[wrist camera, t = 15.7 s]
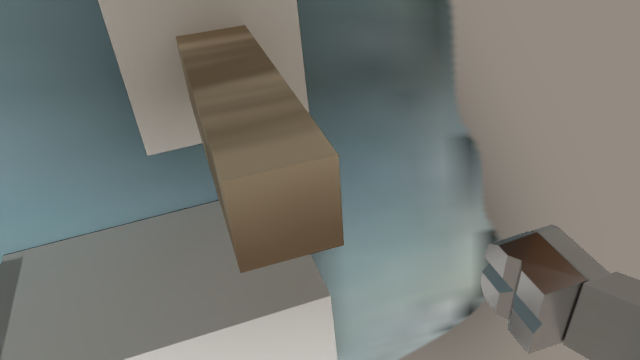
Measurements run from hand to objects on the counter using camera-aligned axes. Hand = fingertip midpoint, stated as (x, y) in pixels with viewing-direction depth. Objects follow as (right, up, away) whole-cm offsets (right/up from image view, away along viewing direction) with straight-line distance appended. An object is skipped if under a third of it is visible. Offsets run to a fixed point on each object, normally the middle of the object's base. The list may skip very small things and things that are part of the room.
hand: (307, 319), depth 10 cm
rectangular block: (-4, +8, +13) cm, 16 cm away
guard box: (-8, -5, +21) cm, 23 cm away
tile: (-5, +9, +13) cm, 17 cm away
